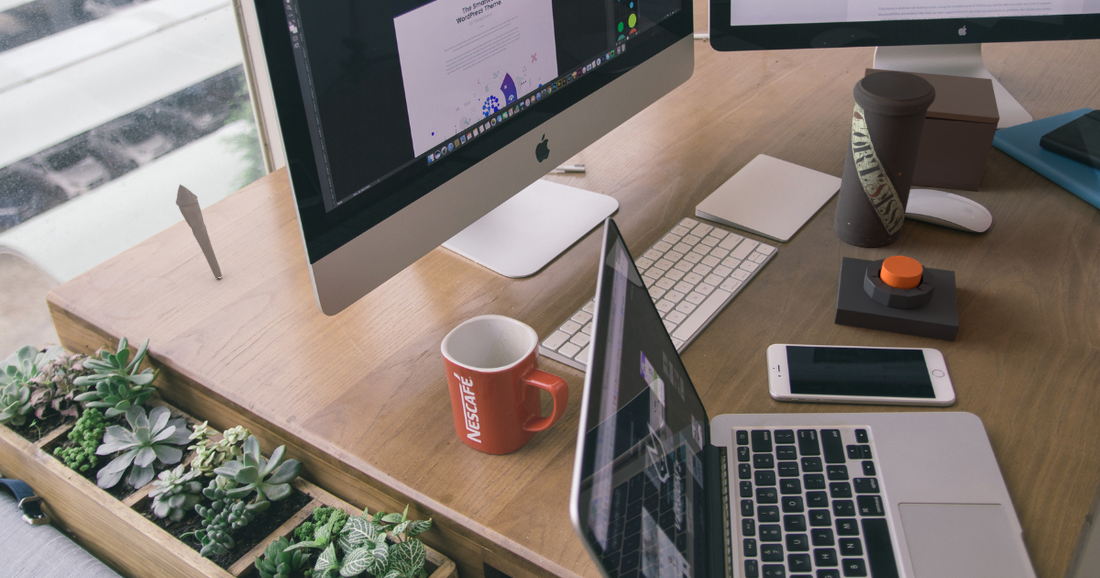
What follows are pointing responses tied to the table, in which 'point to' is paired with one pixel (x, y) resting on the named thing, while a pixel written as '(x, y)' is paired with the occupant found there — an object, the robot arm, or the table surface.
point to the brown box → (953, 153)
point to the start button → (901, 272)
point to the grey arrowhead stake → (197, 225)
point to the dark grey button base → (897, 301)
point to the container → (881, 157)
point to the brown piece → (959, 97)
